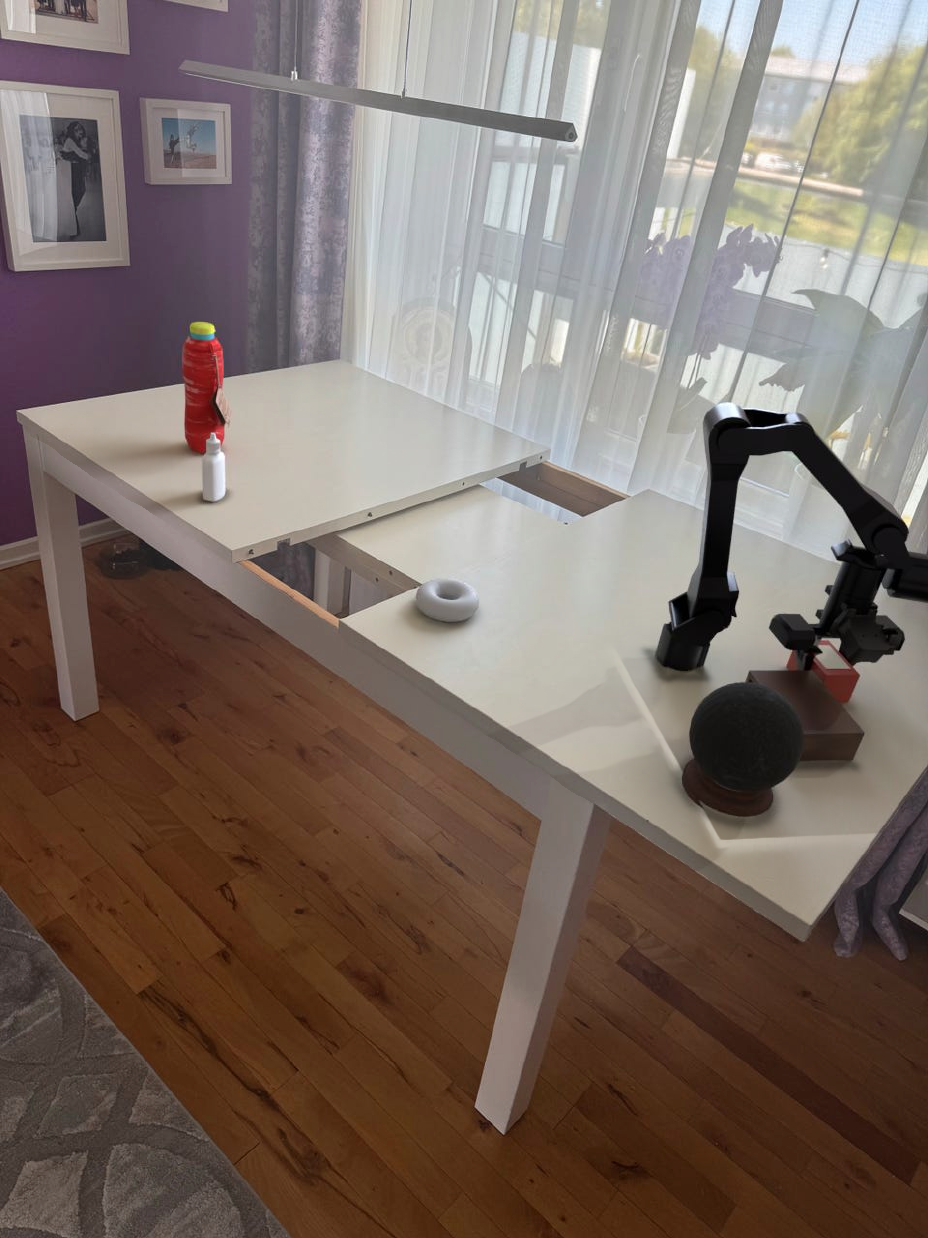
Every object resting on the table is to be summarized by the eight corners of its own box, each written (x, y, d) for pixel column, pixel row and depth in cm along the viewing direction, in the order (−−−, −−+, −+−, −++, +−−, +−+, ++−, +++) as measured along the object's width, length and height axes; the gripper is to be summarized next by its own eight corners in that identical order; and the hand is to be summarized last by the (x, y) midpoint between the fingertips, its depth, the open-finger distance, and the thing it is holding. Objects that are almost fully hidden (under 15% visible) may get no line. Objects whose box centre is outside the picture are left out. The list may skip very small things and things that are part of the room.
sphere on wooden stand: (785, 777, 117) (823, 683, 109) (772, 842, 106) (814, 743, 99) (685, 742, 121) (715, 648, 113) (663, 801, 110) (695, 703, 102)
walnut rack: (783, 766, 119) (796, 734, 116) (738, 700, 131) (749, 670, 128) (851, 764, 121) (865, 732, 118) (800, 700, 133) (812, 670, 130)
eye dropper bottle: (194, 495, 164) (191, 432, 158) (218, 487, 169) (217, 426, 162) (209, 504, 162) (208, 440, 156) (234, 496, 166) (233, 433, 160)
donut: (456, 634, 136) (489, 607, 144) (459, 615, 135) (492, 588, 142) (401, 610, 140) (436, 585, 148) (403, 591, 138) (438, 567, 146)
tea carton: (814, 703, 131) (826, 674, 129) (785, 667, 139) (796, 639, 136) (848, 703, 132) (860, 674, 130) (817, 667, 140) (828, 639, 137)
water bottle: (243, 457, 182) (243, 331, 169) (208, 465, 176) (206, 336, 163) (210, 437, 188) (207, 314, 175) (175, 444, 183) (170, 318, 170)
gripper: (824, 619, 118) (786, 713, 127) (947, 621, 122) (903, 712, 131) (784, 576, 128) (752, 667, 136) (900, 579, 132) (862, 667, 140)
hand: (818, 679), depth 135 cm, fingers closed on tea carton, 5 cm apart
